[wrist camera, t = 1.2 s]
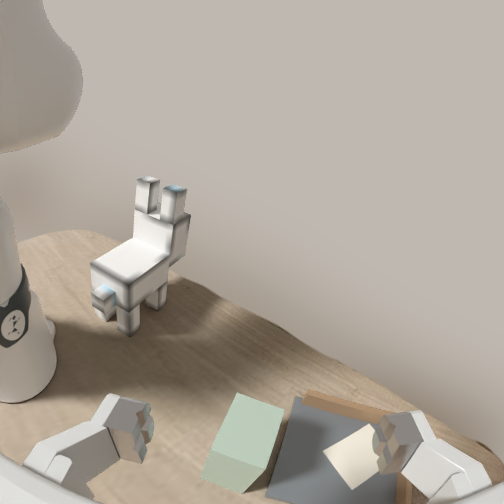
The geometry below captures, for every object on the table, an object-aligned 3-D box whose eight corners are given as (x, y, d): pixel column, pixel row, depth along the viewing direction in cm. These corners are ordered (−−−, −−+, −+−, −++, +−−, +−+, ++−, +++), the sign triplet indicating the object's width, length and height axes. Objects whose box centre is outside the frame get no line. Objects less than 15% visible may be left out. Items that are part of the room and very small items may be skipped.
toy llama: (85, 322, 41) (73, 202, 32) (148, 273, 56) (157, 172, 47) (120, 346, 40) (115, 221, 30) (180, 289, 55) (195, 185, 45)
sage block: (200, 478, 26) (210, 449, 21) (221, 433, 32) (236, 392, 28) (242, 493, 26) (265, 469, 21) (259, 447, 32) (284, 409, 27)
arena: (264, 496, 26) (271, 490, 24) (294, 398, 39) (302, 386, 38) (396, 518, 23) (411, 512, 21) (401, 426, 37) (411, 416, 35)
